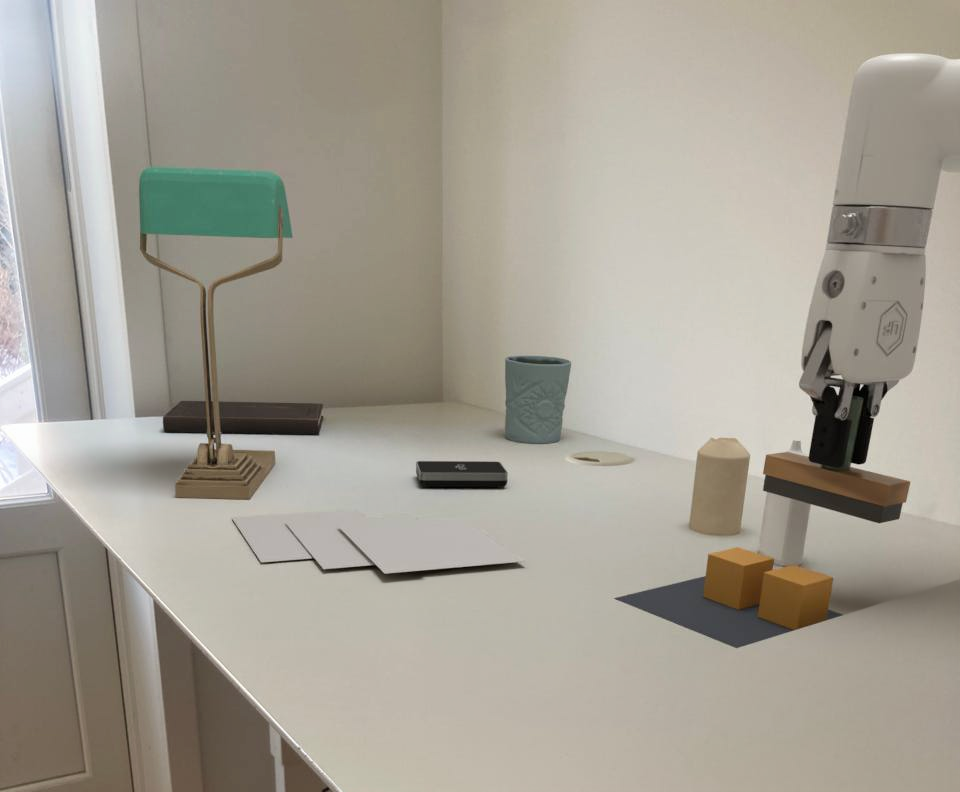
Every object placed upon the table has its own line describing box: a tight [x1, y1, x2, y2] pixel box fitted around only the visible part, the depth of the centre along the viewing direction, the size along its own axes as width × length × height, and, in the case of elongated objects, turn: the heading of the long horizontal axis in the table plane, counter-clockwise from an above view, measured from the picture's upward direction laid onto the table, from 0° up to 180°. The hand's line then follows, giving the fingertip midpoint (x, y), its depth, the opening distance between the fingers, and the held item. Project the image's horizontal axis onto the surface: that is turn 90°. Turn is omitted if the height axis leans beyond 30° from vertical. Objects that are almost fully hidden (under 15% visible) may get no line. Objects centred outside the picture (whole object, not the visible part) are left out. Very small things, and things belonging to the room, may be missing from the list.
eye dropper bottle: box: [758, 439, 812, 567], centre depth 101 cm, size 4×6×12 cm
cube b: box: [703, 547, 774, 610], centre depth 90 cm, size 4×4×4 cm
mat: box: [614, 575, 844, 649], centre depth 87 cm, size 14×18×1 cm
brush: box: [762, 396, 911, 524], centre depth 88 cm, size 3×12×9 cm, turn 37°
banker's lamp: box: [138, 166, 293, 500], centre depth 121 cm, size 16×21×35 cm
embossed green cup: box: [504, 355, 572, 444], centre depth 157 cm, size 10×10×12 cm
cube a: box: [758, 565, 834, 631], centre depth 85 cm, size 4×4×4 cm
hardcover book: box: [162, 400, 324, 436], centre depth 162 cm, size 16×23×2 cm
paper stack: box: [231, 508, 526, 575], centre depth 103 cm, size 23×25×1 cm
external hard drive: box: [415, 460, 508, 488], centre depth 129 cm, size 7×11×2 cm, turn 98°
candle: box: [688, 436, 751, 537], centre depth 111 cm, size 6×6×10 cm
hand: (836, 461), depth 88 cm, fingers closed on brush, 2 cm apart
